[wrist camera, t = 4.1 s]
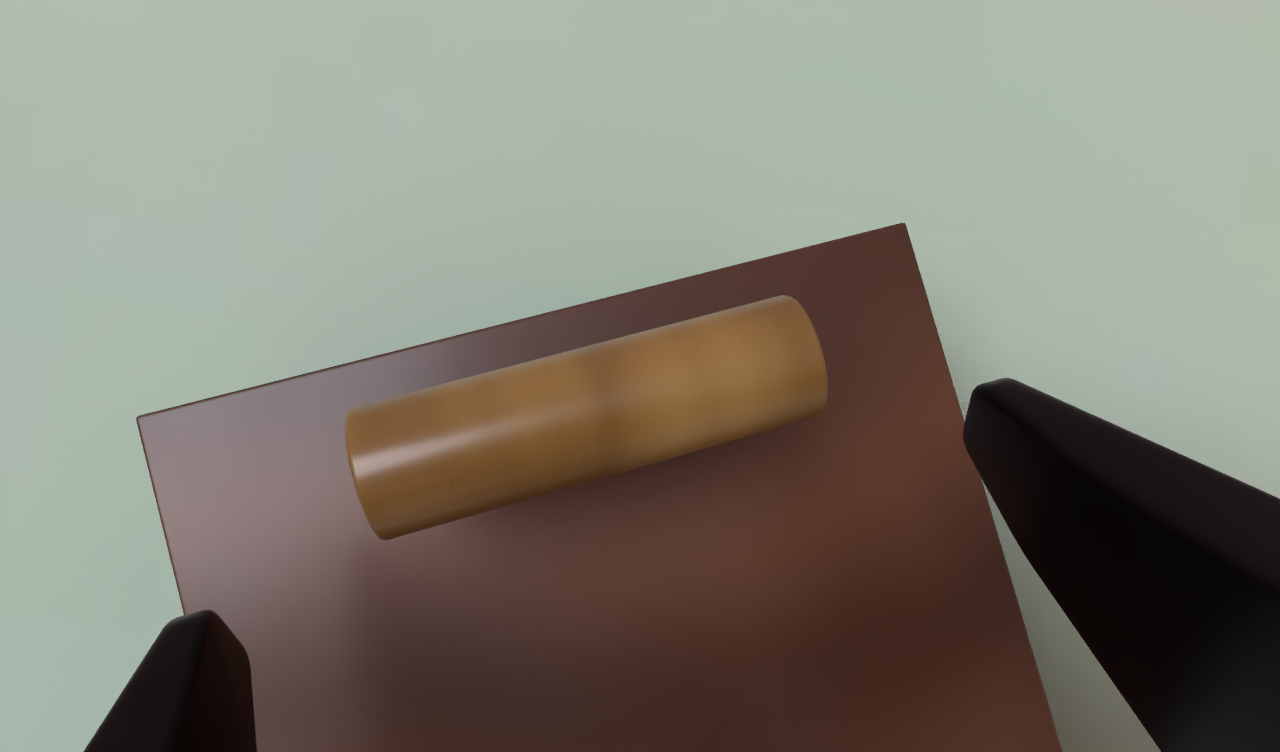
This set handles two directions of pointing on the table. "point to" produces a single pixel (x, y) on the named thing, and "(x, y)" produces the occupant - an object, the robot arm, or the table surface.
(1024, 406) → the robot arm
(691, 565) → the box lid
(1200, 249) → the table surface
